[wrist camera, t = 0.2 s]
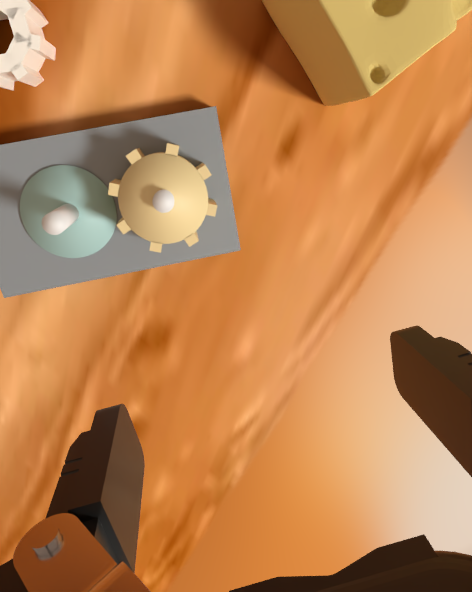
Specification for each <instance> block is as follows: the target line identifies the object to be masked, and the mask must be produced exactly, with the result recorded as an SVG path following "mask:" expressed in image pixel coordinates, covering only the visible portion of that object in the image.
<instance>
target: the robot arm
mask: <svg viewBox="0 0 472 592" xmlns="http://www.w3.org/2000/svg"><path fill="white" fill-rule="evenodd" d="M390 342H391V352H392V362H393V372H394V379H395V383H396V386H397V389H398V391H399V393H400V394H401V396H402V397H403V399H404V400H405V401H406V402H407V403H408V404H409V406H410V407H411V408H412V409H413V410H414V411H415V412H416V413H417V415H418V416H419V417H420V418H421V419H422V421H423V422H424V423H425V424H426V425H427V426H428V427H429V428H430V430H431V431H432V432H433V433H434V434H435V435H436V437H437V438H438V439H439V440H440V441H441V442H442V443H443V445H444V446H445V447H446V448H447V449H448V450H449V451H450V453H451V454H452V455H453V456H454V457H455V458H456V460H457V461H458V462H459V463H460V464H461V465H462V466H463V468H464V469H465V470H466V471H467V472H468V473H469V475H471V477H472V354H471V352H470V351H468V350H467V349H466V348H464V347H463V346H462V345H460V344H459V343H456V342H454V341H451V340H448V339H445V338H442V337H438V338H434V337H432V336H431V335H430V334H429V333H427V332H426V331H425V330H423V329H422V328H421V327H419V326H413V327H409V328H406V329H402V330H398V331H395V332H392V333H391V336H390ZM143 477H144V456H143V451H142V447H141V444H140V442H139V439H138V436H137V434H136V431H135V429H134V426H133V424H132V421H131V418H130V416H129V413H128V411H127V409H126V407H125V405H124V404H120V405H116V406H112V407H109V408H105V409H101V410H98V411H96V413H95V416H94V420H93V423H92V427H91V430H90V431H87V432H83V433H81V434H80V435H79V437H78V438H77V439H76V440H75V442H74V443H73V444H72V445H71V447H70V449H69V451H68V454H67V457H66V460H65V465H64V466H63V469H62V472H61V477H60V478H59V481H58V484H57V487H56V489H55V492H54V495H53V498H52V501H51V504H50V507H49V510H48V513H47V516H46V519H44V520H42V521H41V522H39V523H38V524H36V525H35V526H34V527H33V528H31V529H30V530H29V531H28V532H27V533H26V534H25V535H24V537H23V538H22V539H21V541H20V542H19V544H18V545H17V547H16V549H15V552H14V556H13V559H11V560H10V561H8V562H6V563H5V564H3V565H1V566H0V592H150V591H149V590H148V588H147V587H146V586H145V585H144V584H143V583H142V582H141V581H140V579H139V578H138V577H137V576H136V575H135V574H134V571H135V560H136V550H137V539H138V529H139V519H140V508H141V498H142V487H143ZM229 592H472V556H471V555H467V554H462V553H457V552H448V551H434V550H433V548H432V546H431V545H430V543H429V541H428V540H427V538H426V536H425V535H420V536H417V537H414V538H410V539H407V540H403V541H400V542H396V543H393V544H389V545H386V546H383V547H379V548H377V549H375V550H373V551H371V552H370V553H368V554H367V555H365V556H363V557H362V558H360V559H359V560H357V561H355V562H354V563H352V564H350V565H349V566H347V567H346V568H344V569H342V570H341V571H339V572H337V573H336V574H333V575H329V576H298V577H297V576H295V577H276V578H272V579H269V580H265V581H262V582H258V583H255V584H252V585H249V586H245V587H241V588H238V589H234V590H231V591H229Z"/></svg>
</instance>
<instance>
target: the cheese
mask: <svg viewBox="0 0 472 592" xmlns="http://www.w3.org/2000/svg"><path fill="white" fill-rule="evenodd" d="M262 2H263V4H264V6H265V7H266V9H267V11H268V13H269V15H270V16H271V18H272V20H273V22H274V23H275V25H276V26H277V28H278V30H279V31H280V33H281V34H282V36H283V37H284V39H285V40H286V42H287V44H288V45H289V47H290V48H291V50H292V51H293V53H294V54H295V56H296V57H297V59H298V60H299V62H300V64H301V65H302V67H303V69H304V71H305V72H306V74H307V76H308V77H309V79H310V81H311V83H312V85H313V86H314V88H315V90H316V92H317V94H318V95H319V97H320V99H321V101H322V103H323V104H324V105H325V106H335V105H339V104H343V103H347V102H353V101H357V100H361V99H364V98H367V97H370V96H372V95H374V94H375V93H377V92H378V91H379V90H380V89H382V88H383V87H384V86H385V85H387V84H388V83H389V82H390V81H392V80H393V79H394V78H395V77H396V76H398V75H399V74H400V73H401V72H403V71H404V70H405V69H406V68H407V67H409V66H410V65H411V64H412V63H414V62H415V61H416V60H417V59H419V58H420V57H421V56H422V55H424V54H425V53H426V52H427V51H429V50H430V49H431V48H432V47H434V46H435V45H436V44H438V43H439V42H441V41H442V40H443V39H445V38H446V37H447V36H449V35H450V34H451V33H452V32H453V31H454V30H456V25H457V20H459V19H460V18H462V17H463V16H465V15H466V14H467V13H469V12H470V11H471V10H472V0H262Z"/></svg>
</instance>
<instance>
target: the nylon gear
mask: <svg viewBox="0 0 472 592" xmlns="http://www.w3.org/2000/svg"><path fill="white" fill-rule="evenodd" d="M5 19H9V22H10V25H11V28H12V32H13V35H14V38H13V40H12V42H11V44H10V46H9V48H8V50H7V52H6V53H5V54H0V87H1V88H5V89H9V90H13V91H14V81H21V82H24V83H26V84H29V85H32V86H34V87H36V86H37V85H39V84H40V83H41V82H43V81H44V79H43V78H42V76H41V75H40V73H39V70H40V68H41V67H42V65H43V63H44V61H45V59H50V60H54V61H55V53H56V48H55V47H54V46H53V45H51V44H50V43H49V42H47V41H46V40H45V38H44V34H43V31H42V27H44V26H45V25H47V24H48V23H49V22H48V21H47V20H46V18H45V17H44V15H43V14H42V12H41V11H40V10H39V9H38V8H37V7H36V6H35V5H34V4H33V3H32V2H31V1H30V0H0V20H5Z"/></svg>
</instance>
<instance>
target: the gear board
mask: <svg viewBox="0 0 472 592" xmlns="http://www.w3.org/2000/svg"><path fill="white" fill-rule="evenodd" d="M239 250H241V249H240V243H239V238H238V232H237V226H236V220H235V214H234V208H233V203H232V197H231V191H230V185H229V179H228V173H227V168H226V162H225V156H224V150H223V144H222V139H221V133H220V127H219V121H218V115H217V109H216V106H214V107H209V108H203V109H198V110H192V111H186V112H181V113H175V114H170V115H164V116H159V117H153V118H147V119H142V120H136V121H131V122H125V123H120V124H114V125H108V126H103V127H97V128H92V129H86V130H81V131H75V132H69V133H64V134H58V135H53V136H47V137H42V138H36V139H30V140H25V141H19V142H14V143H8V144H3V145H0V288H1V291H2V294H3V296H4V298H6V297H11V296H16V295H21V294H26V293H31V292H36V291H41V290H46V289H51V288H56V287H61V286H66V285H71V284H76V283H81V282H85V281H90V280H95V279H100V278H105V277H110V276H115V275H120V274H125V273H130V272H135V271H140V270H145V269H150V268H155V267H160V266H165V265H170V264H175V263H180V262H185V261H190V260H195V259H200V258H205V257H210V256H215V255H220V254H224V253H229V252H234V251H239Z"/></svg>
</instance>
